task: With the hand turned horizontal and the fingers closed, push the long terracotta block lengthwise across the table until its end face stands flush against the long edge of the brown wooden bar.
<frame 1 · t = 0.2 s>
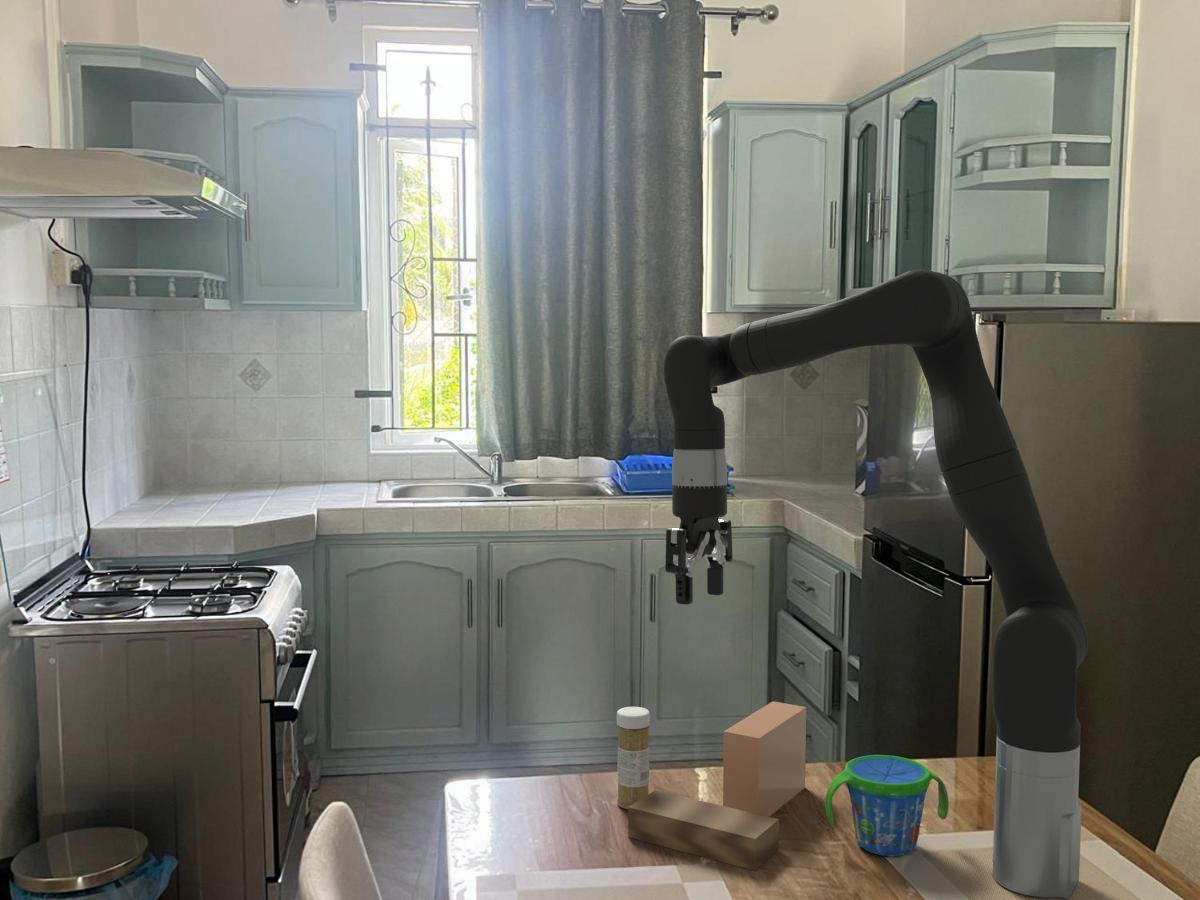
hand: (700, 599, 158), 29 cm above the table, tool pointing down, fingers open, 8 cm apart
snack cup: (885, 847, 146), on the table
brown wooden bar: (702, 843, 147), on the table
sprinkles bottle: (633, 806, 159), on the table
block: (765, 802, 160), on the table
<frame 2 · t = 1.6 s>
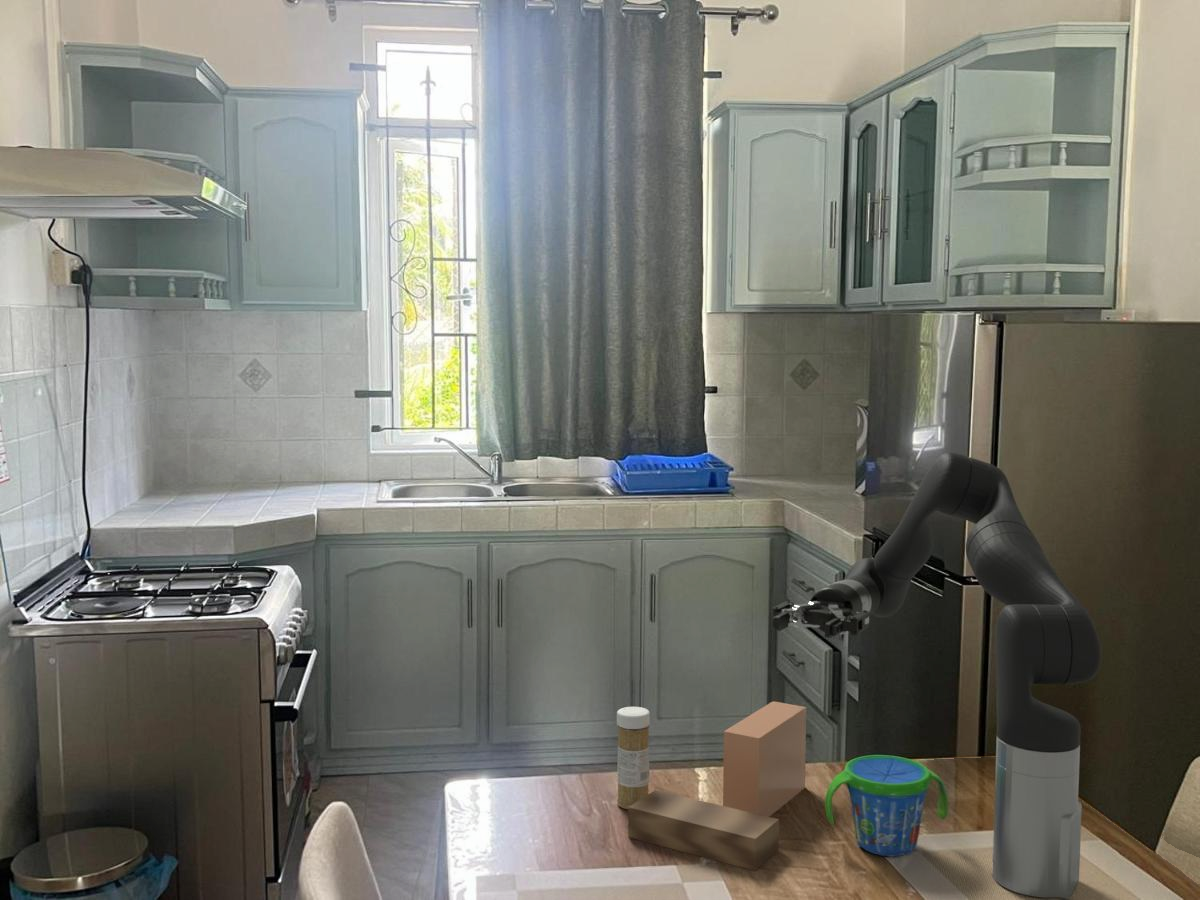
hand: (801, 627, 169), 22 cm above the table, tool horizontal, fingers open, 7 cm apart
nothing on the table moved.
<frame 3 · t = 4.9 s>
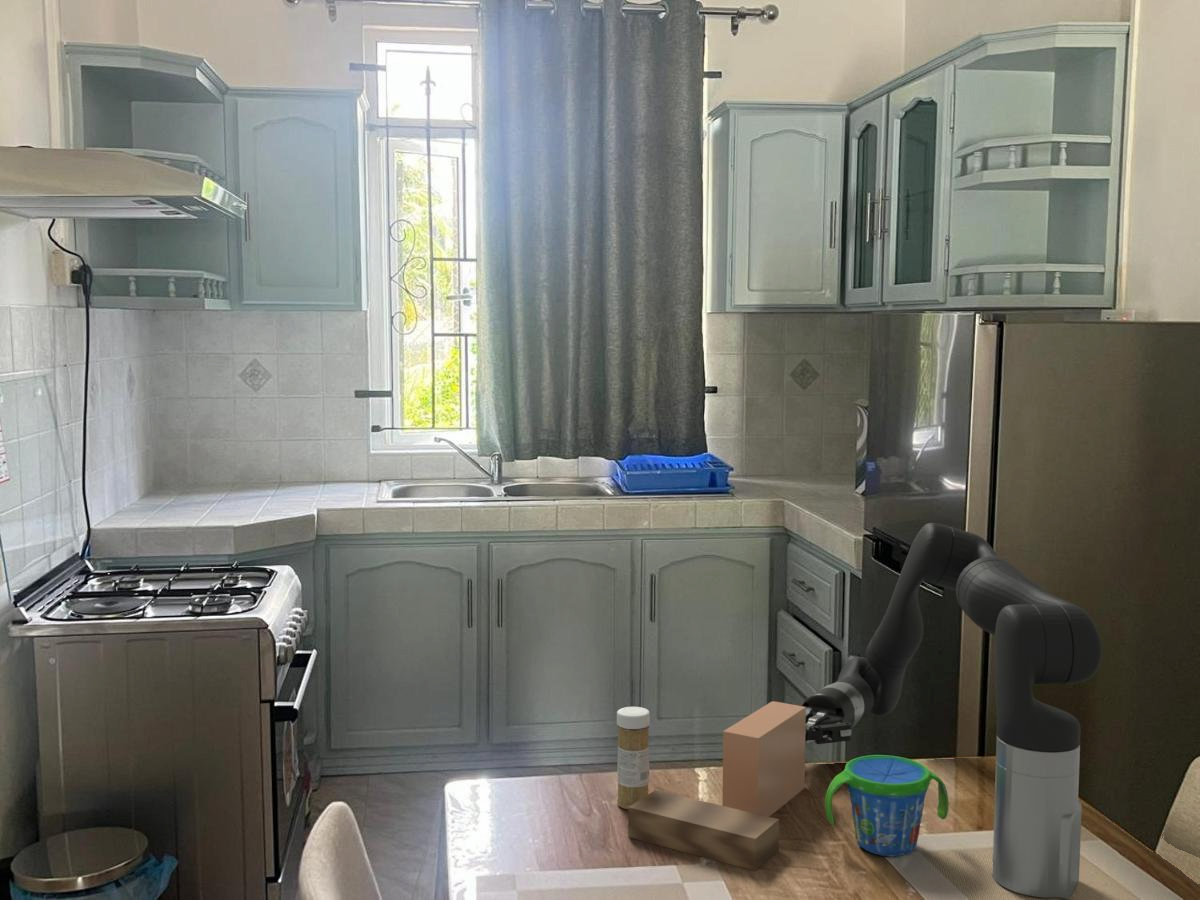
hand: (789, 741, 166), 6 cm above the table, tool horizontal, fingers closed
block: (764, 802, 160), on the table, touching gripper
everything else where it was.
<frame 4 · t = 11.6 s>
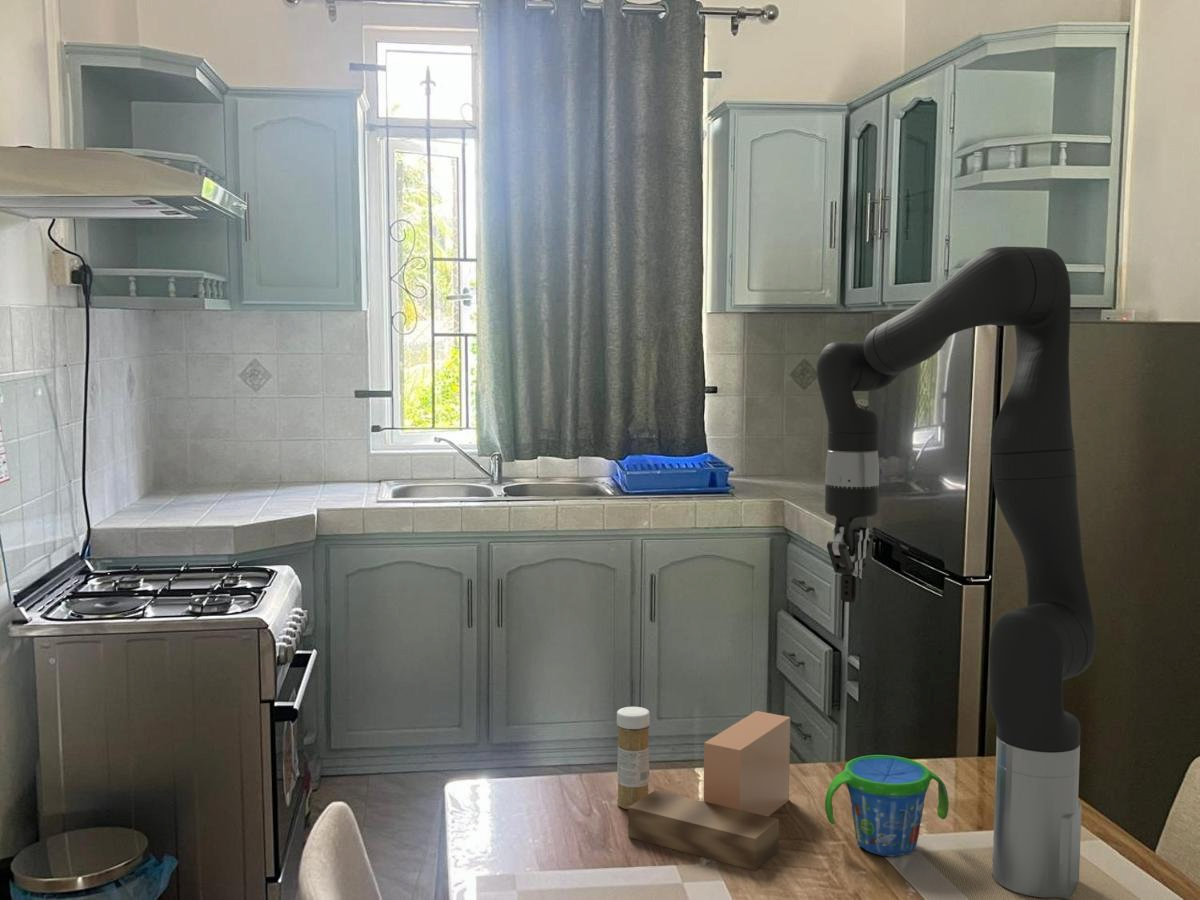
hand: (849, 600, 165), 27 cm above the table, tool pointing down, fingers closed
block: (747, 815, 156), on the table
everything else where it was.
at the end: block inside the target area on the table beside the brown wooden bar (1.2 cm from its centre), on the table; block tilted 0° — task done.
